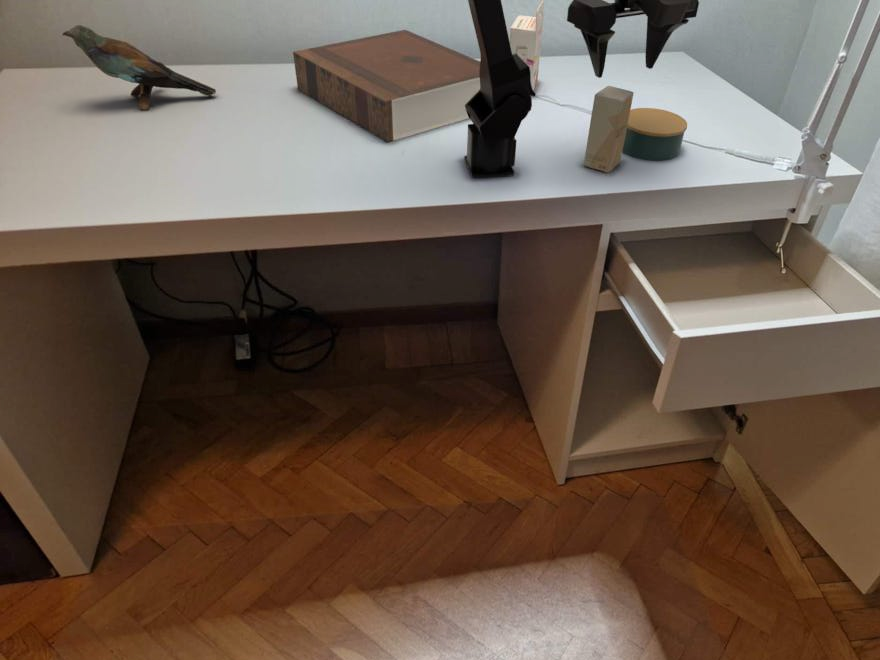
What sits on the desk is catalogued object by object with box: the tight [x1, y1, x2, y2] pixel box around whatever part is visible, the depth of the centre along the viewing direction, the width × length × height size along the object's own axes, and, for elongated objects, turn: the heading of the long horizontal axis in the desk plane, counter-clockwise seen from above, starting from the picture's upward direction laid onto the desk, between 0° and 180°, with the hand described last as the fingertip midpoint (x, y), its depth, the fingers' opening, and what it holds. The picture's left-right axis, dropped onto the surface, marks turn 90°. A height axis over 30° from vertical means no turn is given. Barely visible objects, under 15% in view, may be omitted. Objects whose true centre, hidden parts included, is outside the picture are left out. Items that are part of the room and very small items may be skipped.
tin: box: [622, 107, 688, 161], centre depth 111 cm, size 10×10×4 cm
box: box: [583, 85, 635, 173], centre depth 104 cm, size 5×4×11 cm
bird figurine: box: [62, 24, 217, 111], centre depth 115 cm, size 13×10×20 cm
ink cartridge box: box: [509, 0, 545, 92], centre depth 126 cm, size 9×5×15 cm, turn 168°
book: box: [292, 29, 480, 143], centre depth 122 cm, size 24×28×6 cm
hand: (624, 72), depth 100 cm, fingers open, 9 cm apart
